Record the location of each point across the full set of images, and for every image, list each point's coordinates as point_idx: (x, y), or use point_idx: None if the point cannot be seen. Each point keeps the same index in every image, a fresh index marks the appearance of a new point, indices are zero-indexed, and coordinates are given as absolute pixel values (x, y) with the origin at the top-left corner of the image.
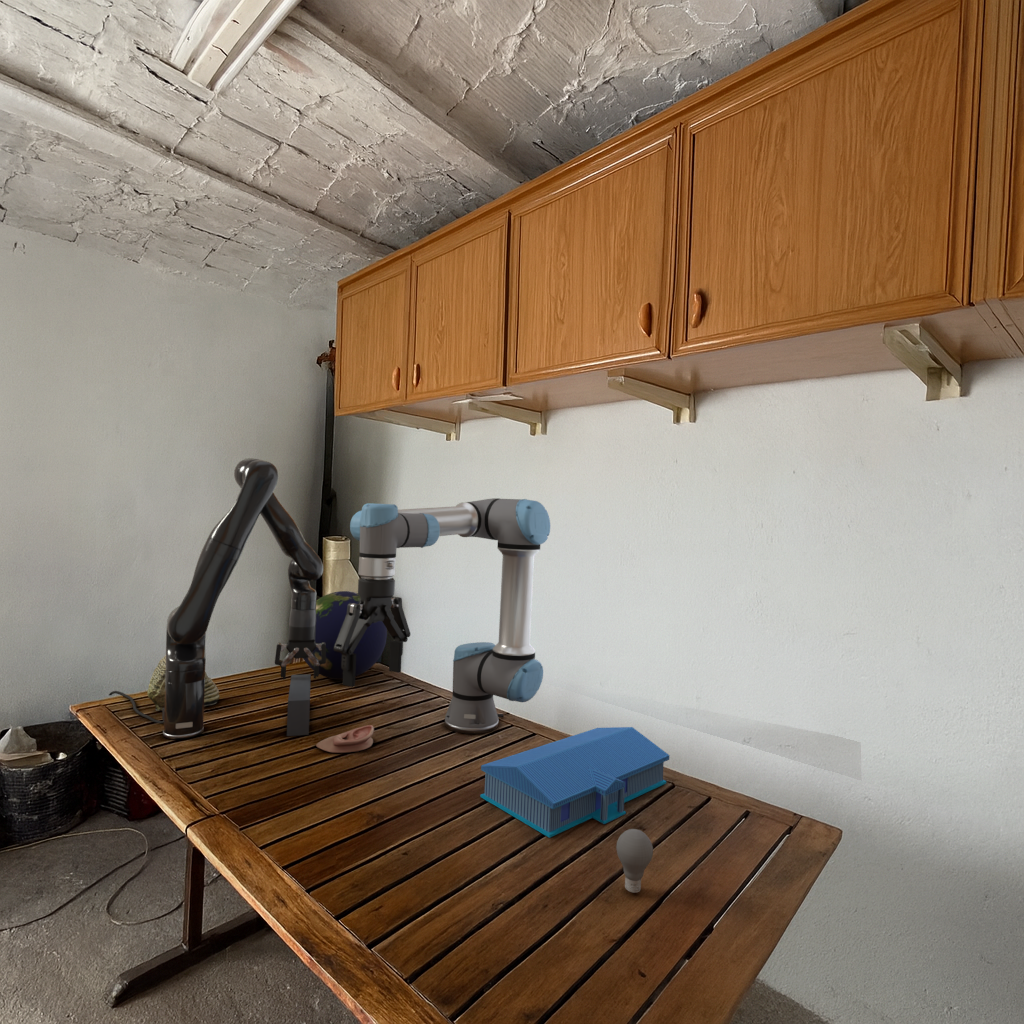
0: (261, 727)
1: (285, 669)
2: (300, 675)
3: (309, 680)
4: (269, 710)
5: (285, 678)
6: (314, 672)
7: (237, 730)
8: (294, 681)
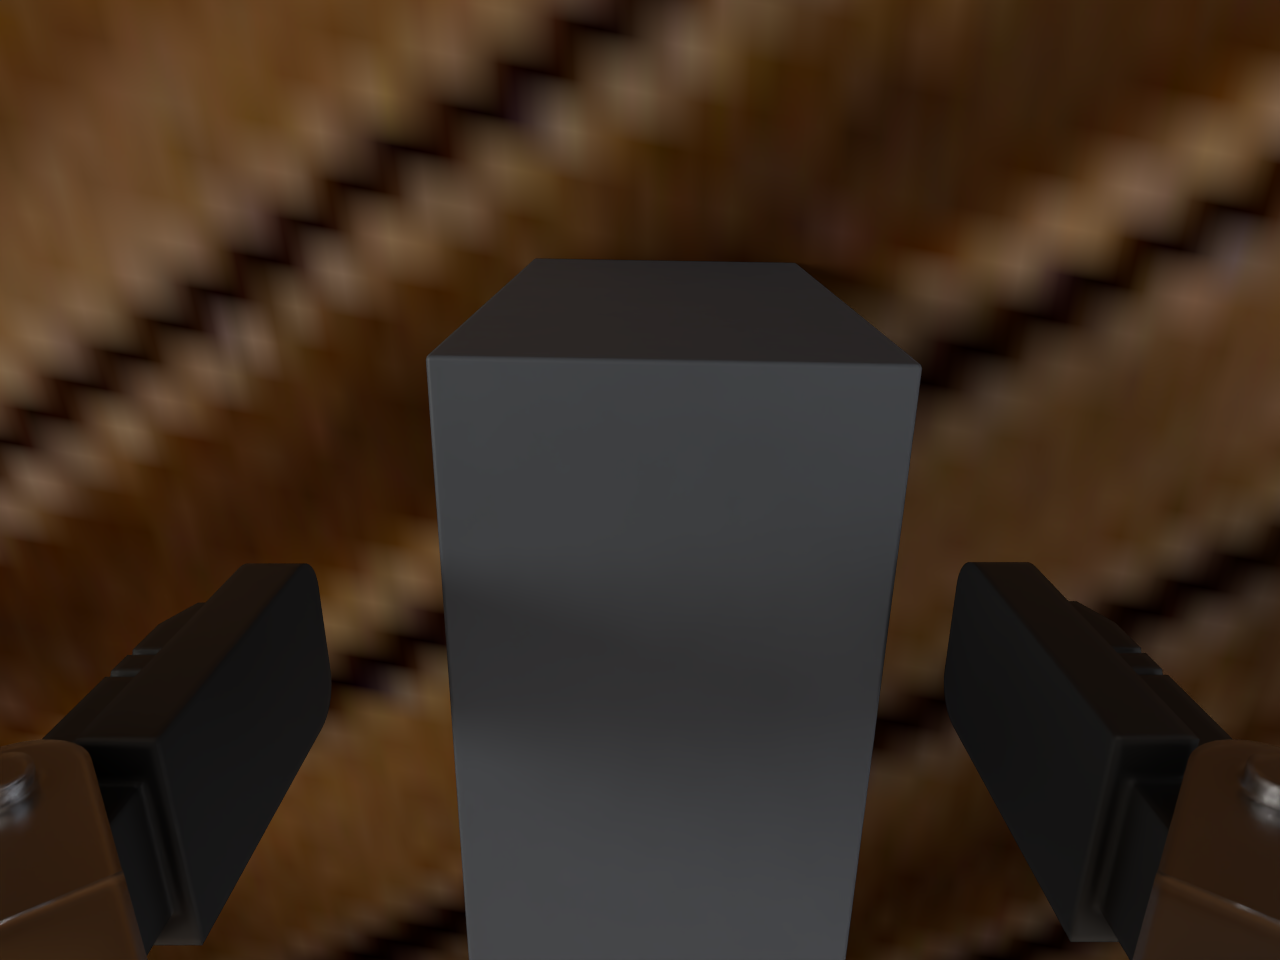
0: (307, 871)
1: (222, 882)
2: (657, 438)
3: (840, 836)
4: (285, 391)
5: (324, 682)
6: (1010, 807)
7: None
8: (538, 851)
